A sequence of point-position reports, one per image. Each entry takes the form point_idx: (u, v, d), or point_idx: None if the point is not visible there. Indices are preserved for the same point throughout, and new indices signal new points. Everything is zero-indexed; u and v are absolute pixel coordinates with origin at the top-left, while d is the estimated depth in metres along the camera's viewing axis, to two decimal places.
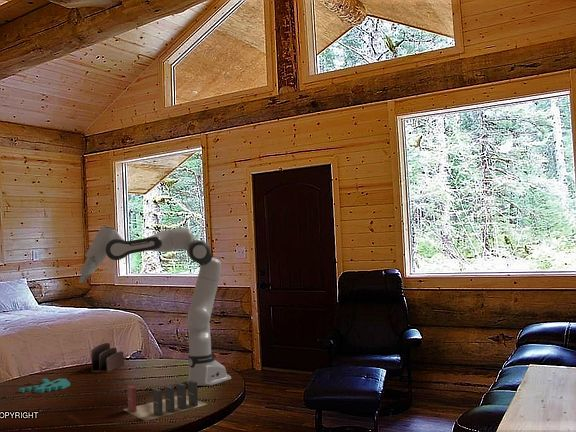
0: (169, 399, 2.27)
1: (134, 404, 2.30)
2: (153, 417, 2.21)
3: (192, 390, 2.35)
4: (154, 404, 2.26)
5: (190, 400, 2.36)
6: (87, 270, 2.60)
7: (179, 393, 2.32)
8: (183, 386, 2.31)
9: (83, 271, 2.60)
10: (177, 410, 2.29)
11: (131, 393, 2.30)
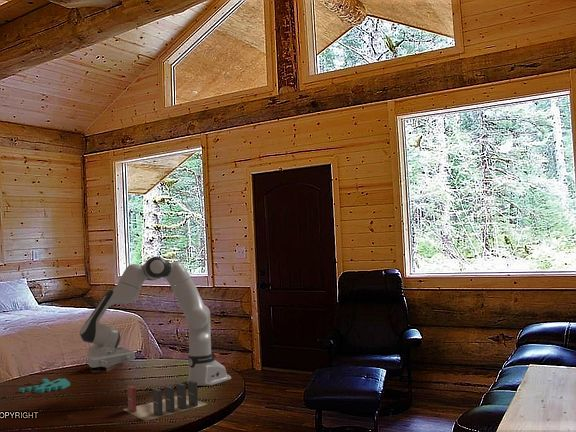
0: (169, 399, 2.27)
1: (134, 404, 2.30)
2: (153, 417, 2.21)
3: (192, 390, 2.35)
4: (154, 404, 2.26)
5: (190, 400, 2.36)
6: (90, 360, 2.42)
7: (179, 393, 2.32)
8: (183, 386, 2.31)
9: (90, 364, 2.41)
10: (177, 410, 2.29)
11: (131, 393, 2.30)
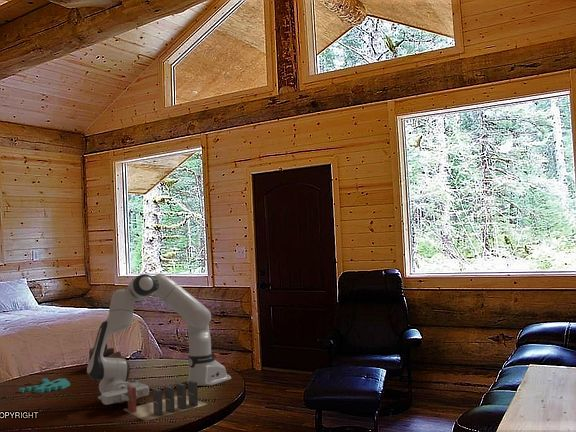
0: (169, 399, 2.27)
1: (134, 404, 2.30)
2: (153, 417, 2.21)
3: (192, 390, 2.35)
4: (154, 404, 2.26)
5: (190, 400, 2.36)
6: (103, 397, 2.30)
7: (179, 393, 2.32)
8: (183, 386, 2.31)
9: (103, 401, 2.30)
10: (177, 410, 2.29)
11: (131, 393, 2.30)
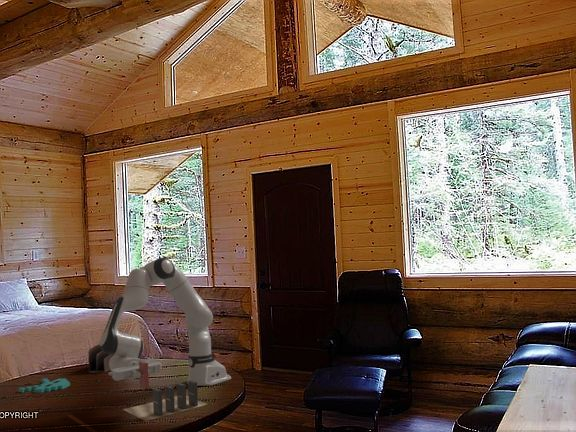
0: (169, 399, 2.27)
1: (146, 380, 2.20)
2: (153, 417, 2.21)
3: (192, 390, 2.35)
4: (154, 404, 2.26)
5: (190, 400, 2.36)
6: (113, 373, 2.21)
7: (179, 393, 2.32)
8: (183, 386, 2.31)
9: (114, 377, 2.20)
10: (177, 410, 2.29)
11: (143, 369, 2.21)
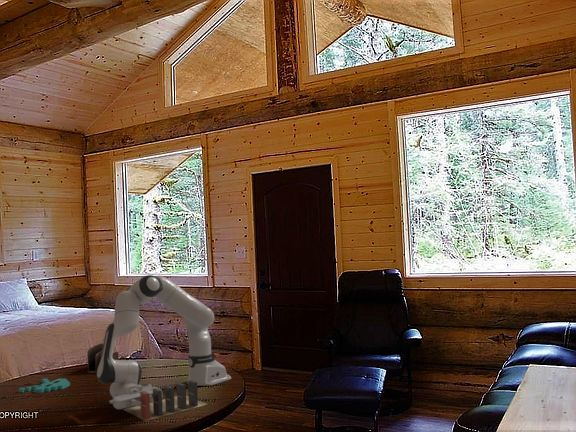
0: (169, 399, 2.27)
1: (148, 411, 2.20)
2: (153, 417, 2.21)
3: (192, 390, 2.35)
4: (154, 404, 2.26)
5: (190, 400, 2.36)
6: (115, 401, 2.21)
7: (179, 393, 2.32)
8: (183, 386, 2.31)
9: (115, 405, 2.20)
10: (177, 410, 2.29)
11: (144, 399, 2.20)
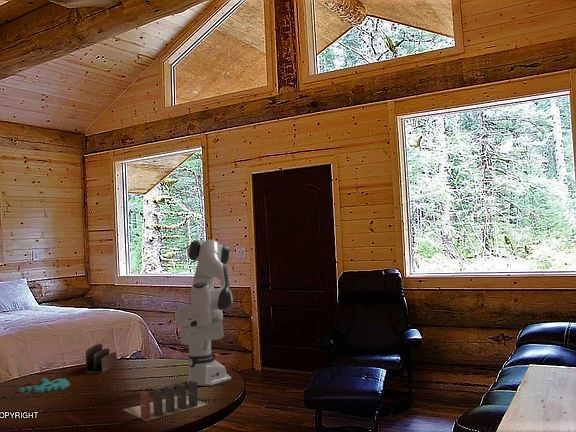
0: (169, 399, 2.27)
1: (148, 411, 2.20)
2: (153, 417, 2.21)
3: (192, 390, 2.35)
4: (154, 404, 2.26)
5: (190, 400, 2.36)
6: None
7: (179, 393, 2.32)
8: (183, 386, 2.31)
9: None
10: (177, 410, 2.29)
11: (144, 399, 2.20)
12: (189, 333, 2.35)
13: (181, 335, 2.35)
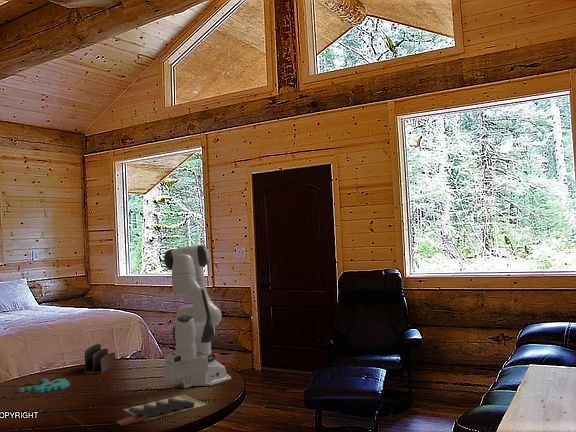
0: (158, 411, 2.24)
1: (138, 420, 2.17)
2: (153, 417, 2.21)
3: None
4: None
5: None
6: None
7: None
8: (162, 406, 2.24)
9: None
10: (177, 410, 2.29)
11: None
12: (173, 369, 2.29)
13: (164, 371, 2.29)
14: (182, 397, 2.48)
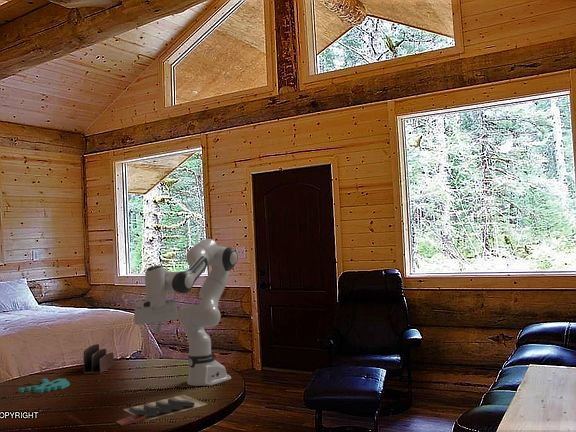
0: (158, 411, 2.24)
1: (138, 420, 2.17)
2: (153, 417, 2.21)
3: None
4: None
5: None
6: None
7: None
8: (162, 406, 2.24)
9: None
10: (177, 410, 2.29)
11: None
12: (142, 313, 2.43)
13: (135, 316, 2.43)
14: (182, 397, 2.48)
